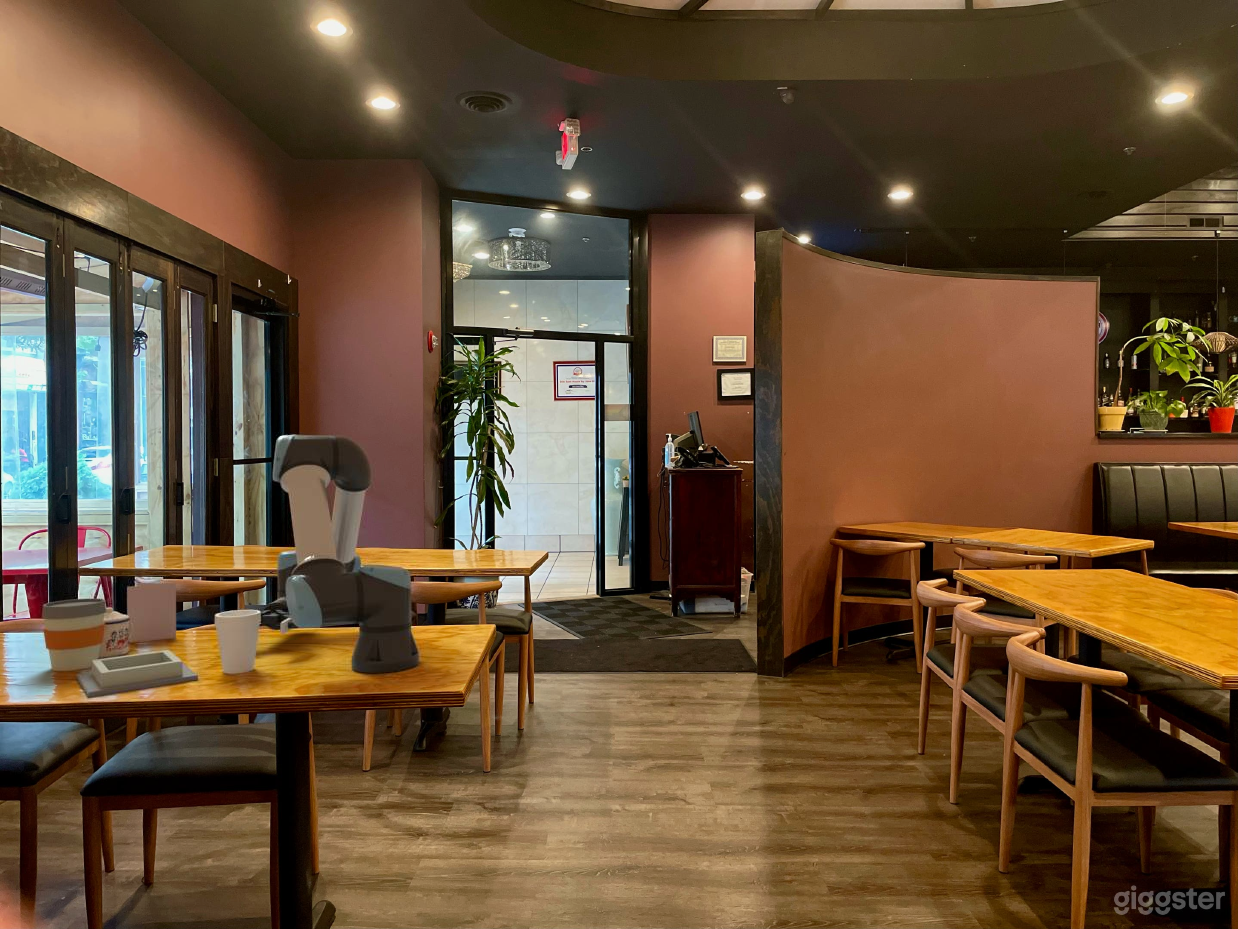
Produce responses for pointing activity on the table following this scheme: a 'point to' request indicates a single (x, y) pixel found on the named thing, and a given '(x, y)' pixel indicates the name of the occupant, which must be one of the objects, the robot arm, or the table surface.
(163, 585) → the greeting card
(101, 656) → the teacup with lid
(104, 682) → the tray
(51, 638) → the reusable coffee cup
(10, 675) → the table surface
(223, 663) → the foam cup
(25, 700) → the table surface
